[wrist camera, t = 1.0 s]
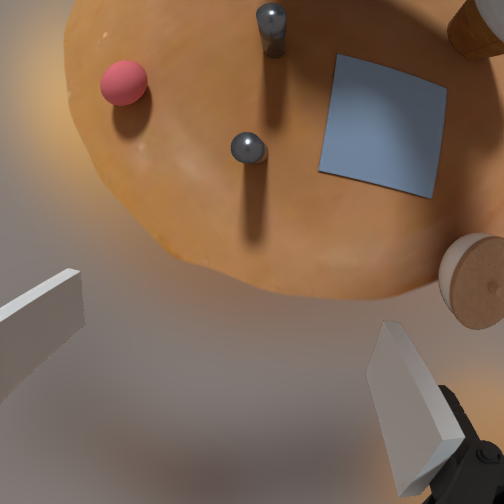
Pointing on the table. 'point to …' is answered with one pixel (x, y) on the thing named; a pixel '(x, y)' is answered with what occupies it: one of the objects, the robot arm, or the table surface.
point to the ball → (123, 83)
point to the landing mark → (383, 127)
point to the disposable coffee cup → (478, 29)
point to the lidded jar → (474, 279)
